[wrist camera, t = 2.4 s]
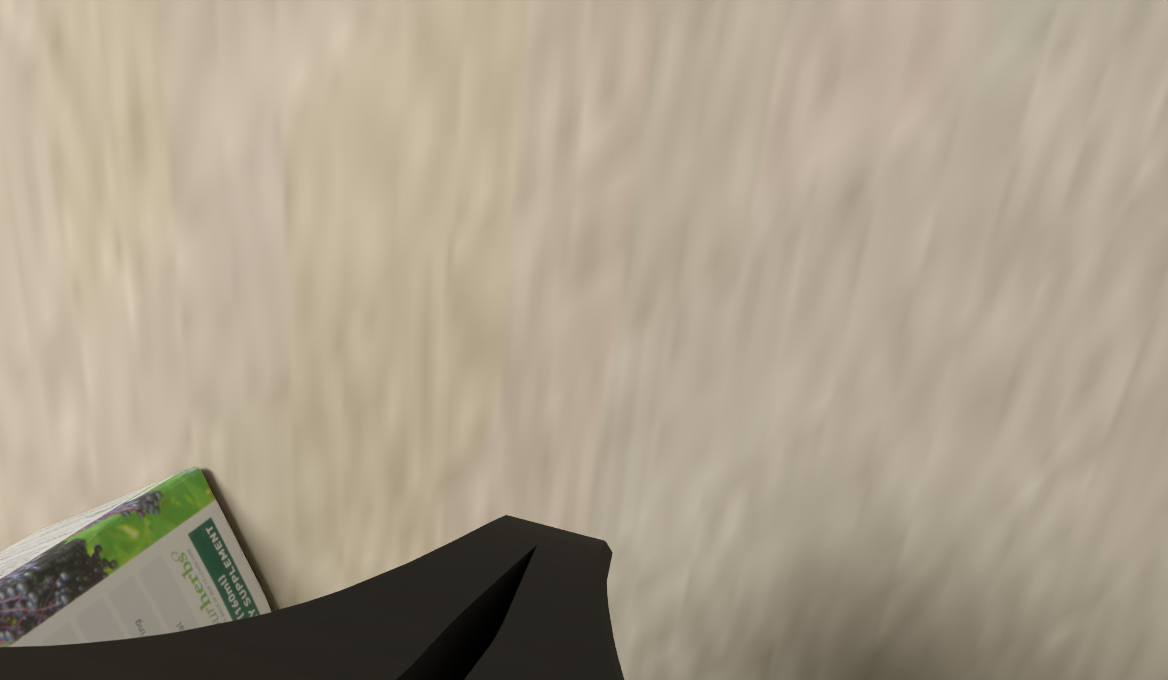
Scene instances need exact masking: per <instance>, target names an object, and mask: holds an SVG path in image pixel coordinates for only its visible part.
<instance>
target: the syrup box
mask: <svg viewBox="0 0 1168 680" xmlns="http://www.w3.org/2000/svg"><path fill="white" fill-rule="evenodd" d="M270 612H271V609H270V607H269V604H268V602H267V599H266V597H265V595H264V593H263V591H262V589H261V587H260V585H259V583H258V581H257V579H256V577H255V575H254V573H253V571H252V569H251V567H250V565H249V563H248V561H247V559H246V557H245V555H244V553H243V552H242V550H241V548H240V546H239V544H238V542H237V540H236V538H235V536H234V534H233V532H232V530H231V528H230V526H229V524H228V522H227V520H226V518H225V516H224V514H223V512H222V510H221V508H220V506H219V504H218V503H217V501H216V499H215V497H214V495H213V494H212V492H211V489H210V487H209V485H208V483H207V481H206V479H205V477H204V475H203V473H202V471H201V470H200V469H199V468H197V467H193V468H190V469H187V470H185V471H183V472H180V473H178V474H175V475H172V476H169V477H167V478H165V479H163V480H160V481H158V482H155V483H153V484H151V485H148V486H146V487H144V488H141V489H139V490H136V491H134V492H132V493H129V494H127V495H125V496H122V497H120V498H117V499H115V500H113V501H110V502H108V503H105V504H103V505H100V506H98V507H95V508H93V509H90V510H88V511H85V512H83V513H80V514H78V515H76V516H73V517H70V518H68V519H65V520H63V521H60V522H58V523H55V524H53V525H50V526H48V527H46V528H43V529H41V530H38V531H37V532H35V533H33V534H31V535H29V536H27V537H25V538H24V539H22V540H20V541H19V542H17V543H15V544H14V545H12V546H10V547H8V548H7V549H5V550H3V551H2V552H0V647H22V646H52V645H66V644H80V643H91V642H101V641H111V640H121V639H130V638H137V637H145V636H152V635H160V634H167V633H173V632H179V631H184V630H189V629H194V628H199V627H204V626H209V625H214V624H219V623H224V622H229V621H234V620H239V619H244V618H249V617H254V616H258V615H262V614H266V613H270Z"/></svg>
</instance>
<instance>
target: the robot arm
mask: <svg viewBox="0 0 1168 680" xmlns="http://www.w3.org/2000/svg"><path fill="white" fill-rule="evenodd" d="M611 558H612V551H611V549H610V548H609V546H608V545H607V543H606V541H603V540H599V539H596V538H592V537H588V536H584V535H580V534H577V533H573V532H569V531H565V530H561V529H557V528H554V527H550V526H546V525H542V524H538V523H535V522H531V521H527V520H523V519H519V518H516V517H512V516H508V515H506V516H503V517H501V518H498V519H496V520H494V521H492V522H490V523H488V524H486V525H484V526H482V527H480V528H478V529H476V530H474V531H472V532H470V533H468V534H466V535H464V536H463V537H461V538H459V539H457V540H455V541H453V542H451V543H449V544H447V545H444V546H442V547H440V548H438V549H436V550H434V551H432V552H430V553H428V554H426V555H424V556H422V557H420V558H418V559H415V560H413V561H411V562H409V563H407V564H405V565H402V566H400V567H397V568H395V569H392V570H390V571H388V572H385V573H383V574H380V575H378V576H375V577H373V578H371V579H368V580H366V581H363V582H361V583H358V584H356V585H354V586H351V587H349V588H346V589H343V590H341V591H338V592H335V593H332V594H329V595H326V596H323V597H320V598H317V599H314V600H311V601H308V602H305V603H301V604H298V605H294V606H291V607H287V608H284V609H280V610H277V611H273V612H270V613H266V614H262V615H258V616H254V617H249V618H244V619H239V620H234V621H229V622H224V623H219V624H214V625H209V626H204V627H199V628H194V629H189V630H184V631H179V632H173V633H167V634H160V635H152V636H145V637H137V638H130V639H121V640H111V641H101V642H91V643H80V644H66V645H52V646H22V647H0V680H624V677H623V674H622V670H621V666H620V663H619V659H618V656H617V651H616V647H615V642H614V638H613V632H612V626H611V620H610V614H609V608H608V598H607V577H608V572H609V567H610V562H611Z"/></svg>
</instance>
